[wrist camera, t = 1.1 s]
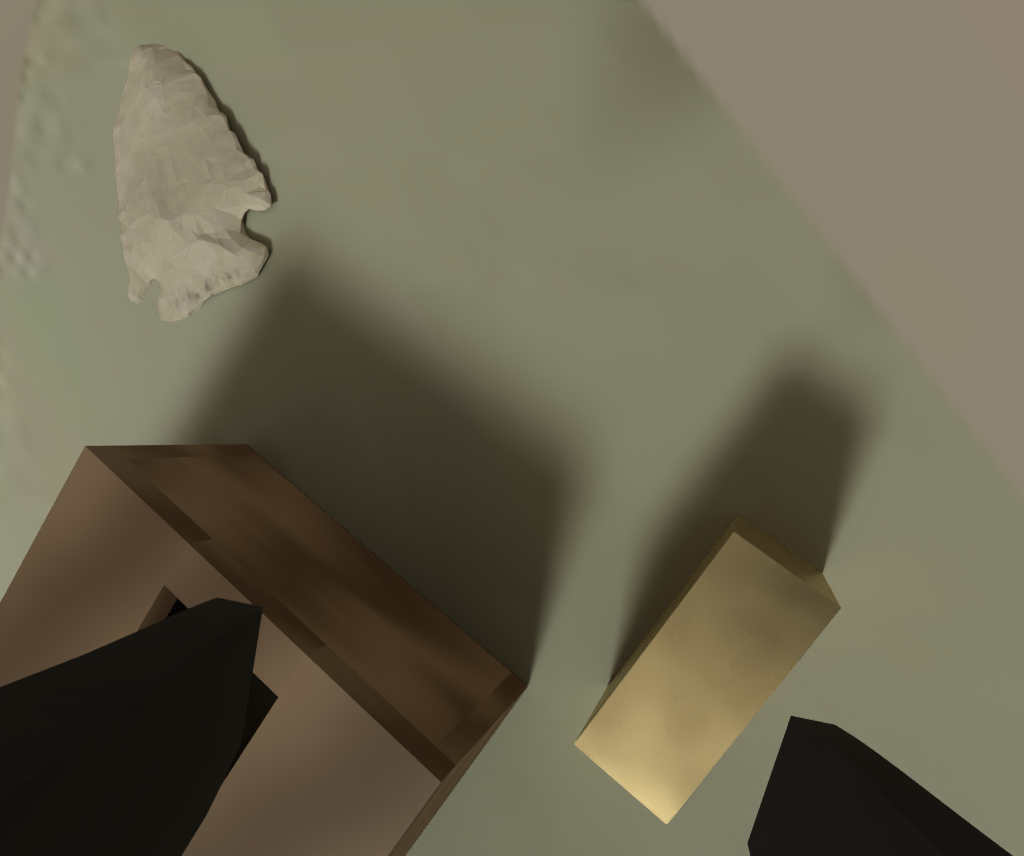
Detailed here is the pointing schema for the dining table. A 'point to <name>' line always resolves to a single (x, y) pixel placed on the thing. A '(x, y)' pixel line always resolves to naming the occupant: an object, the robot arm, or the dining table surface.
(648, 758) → the gold metal block
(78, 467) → the box
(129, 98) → the arrowhead
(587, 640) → the dining table surface
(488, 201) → the dining table surface
